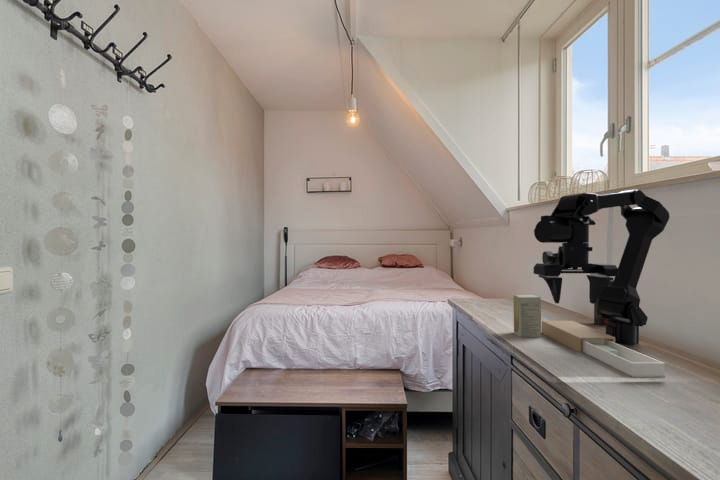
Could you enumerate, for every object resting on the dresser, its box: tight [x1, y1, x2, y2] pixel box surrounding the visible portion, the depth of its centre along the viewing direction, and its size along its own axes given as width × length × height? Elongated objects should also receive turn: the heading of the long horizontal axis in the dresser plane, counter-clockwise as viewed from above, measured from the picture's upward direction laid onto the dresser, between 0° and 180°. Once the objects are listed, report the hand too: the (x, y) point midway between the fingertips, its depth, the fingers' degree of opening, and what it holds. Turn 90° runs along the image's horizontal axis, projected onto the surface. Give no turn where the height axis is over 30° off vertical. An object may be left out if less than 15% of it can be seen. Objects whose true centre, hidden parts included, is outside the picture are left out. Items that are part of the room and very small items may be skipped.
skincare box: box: [512, 294, 542, 338], centre depth 94 cm, size 6×4×12 cm
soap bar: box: [593, 344, 618, 356], centre depth 78 cm, size 3×5×2 cm, turn 1°
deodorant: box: [593, 279, 614, 327], centre depth 107 cm, size 6×6×15 cm
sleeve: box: [541, 320, 615, 353], centre depth 88 cm, size 9×16×4 cm, turn 1°
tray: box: [581, 339, 666, 379], centre depth 74 cm, size 7×16×3 cm, turn 1°
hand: (574, 303), depth 84 cm, fingers open, 9 cm apart
